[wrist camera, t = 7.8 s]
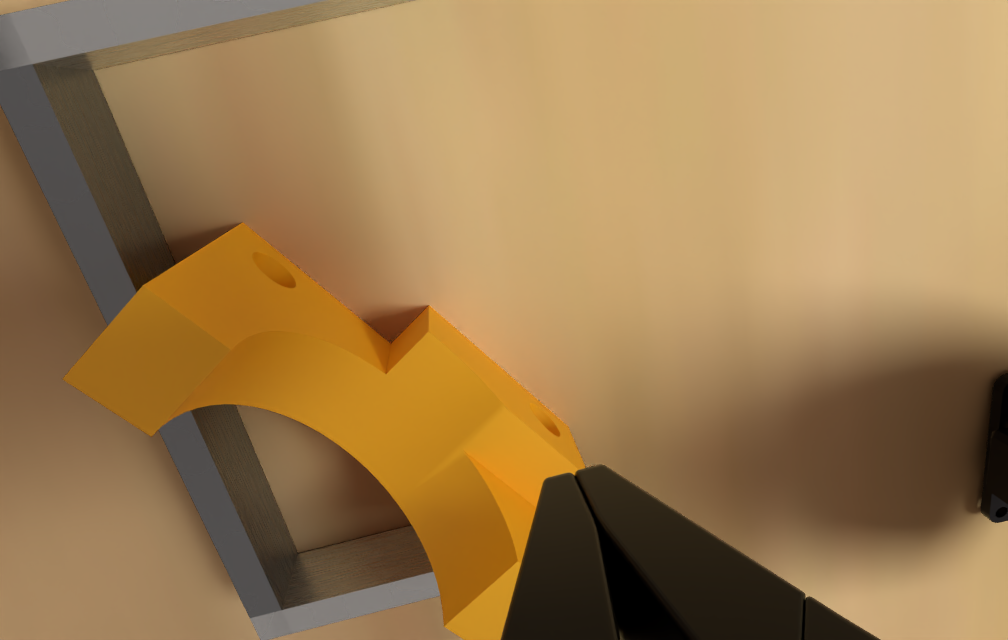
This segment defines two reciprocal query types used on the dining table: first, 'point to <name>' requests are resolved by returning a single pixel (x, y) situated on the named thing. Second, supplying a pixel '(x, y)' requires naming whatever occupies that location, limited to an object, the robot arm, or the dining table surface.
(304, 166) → the dining table surface
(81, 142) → the rail bay
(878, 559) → the dining table surface
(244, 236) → the pipe clamp
